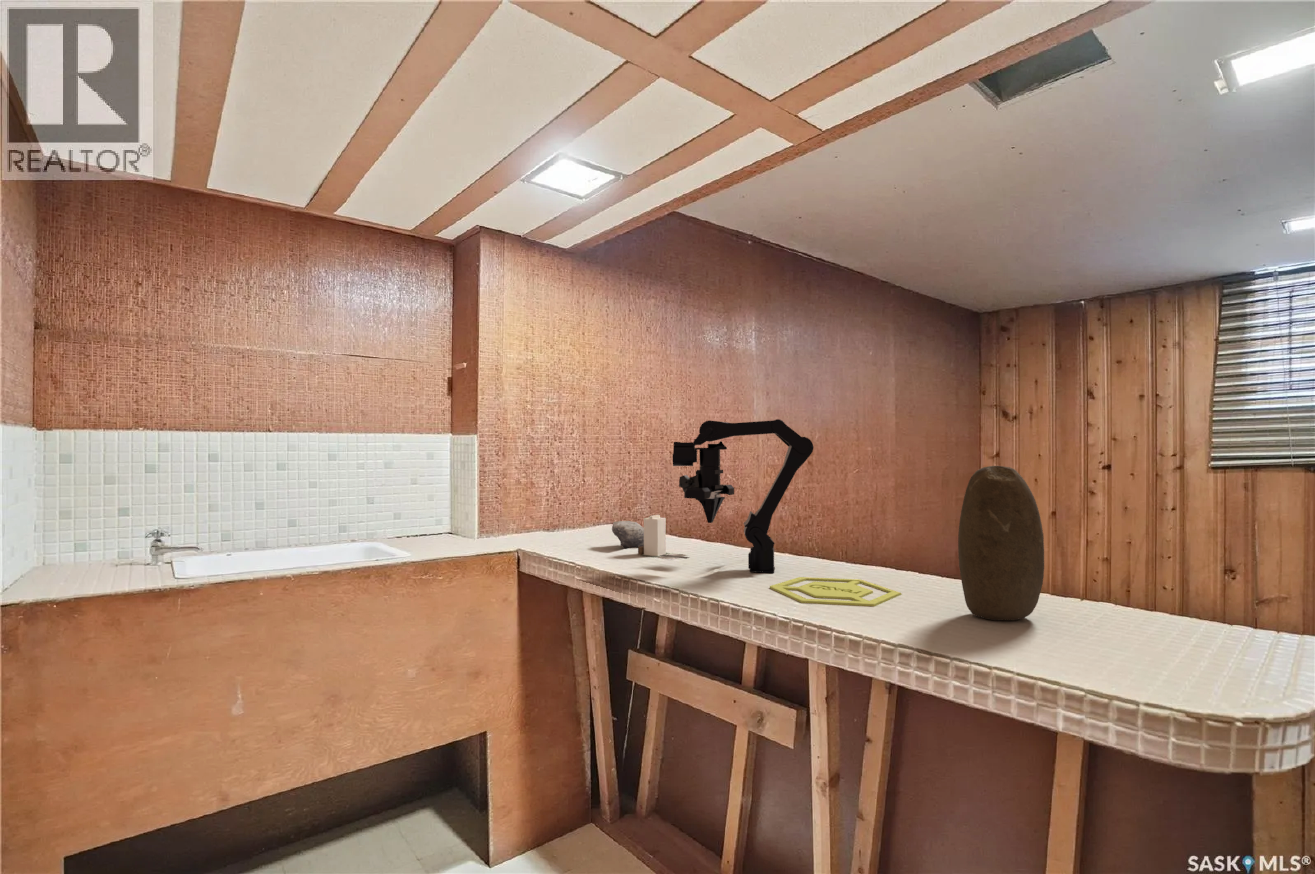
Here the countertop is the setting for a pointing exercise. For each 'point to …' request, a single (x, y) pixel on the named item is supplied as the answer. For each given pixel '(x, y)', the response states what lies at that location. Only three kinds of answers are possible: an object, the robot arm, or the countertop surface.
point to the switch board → (671, 556)
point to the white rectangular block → (654, 535)
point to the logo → (834, 591)
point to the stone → (1000, 545)
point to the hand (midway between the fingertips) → (710, 522)
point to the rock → (629, 534)
